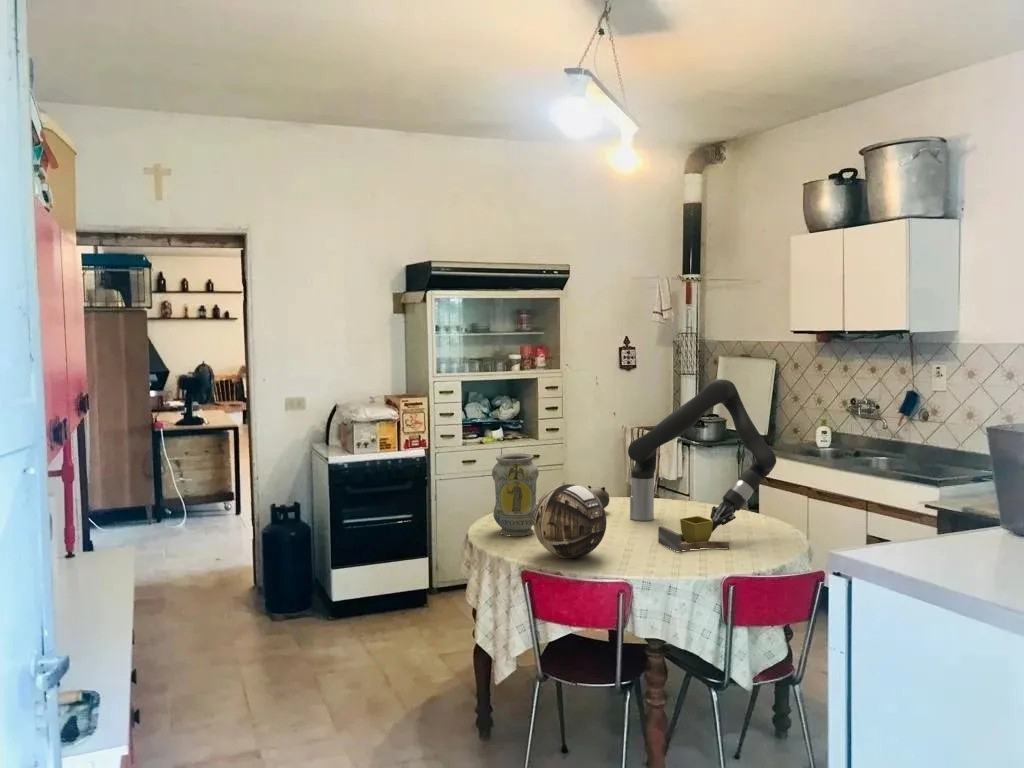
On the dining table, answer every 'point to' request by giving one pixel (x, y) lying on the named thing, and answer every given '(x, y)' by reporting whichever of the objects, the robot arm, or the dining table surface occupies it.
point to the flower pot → (696, 529)
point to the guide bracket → (674, 540)
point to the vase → (515, 493)
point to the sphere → (569, 521)
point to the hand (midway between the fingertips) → (708, 530)
